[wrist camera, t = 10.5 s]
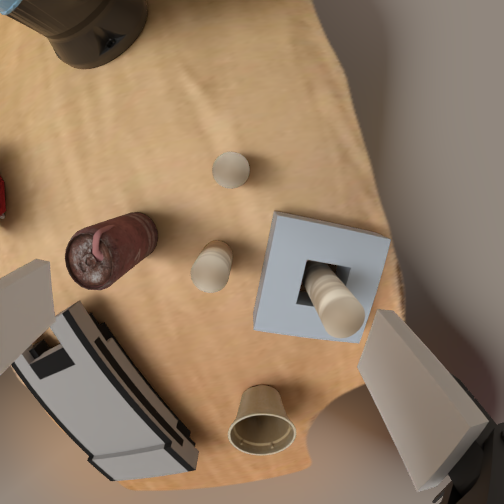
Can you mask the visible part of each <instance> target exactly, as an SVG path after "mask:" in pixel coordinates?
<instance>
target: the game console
mask: <svg viewBox="0 0 504 504" xmlns="http://www.w3.org/2000/svg"><path fill="white" fill-rule="evenodd" d="M55 319H56V322H55V323H53V324H52V325H51V326H50V328H51V329H52V331H53V333H54V334H55V336H56V337H57V339H58V340H59V342H60V343H61V344H59V345H57V346H55V347H53V348H51V349H50V348H49V346H48V345H47V343H46V342H45V340H44V339H43V340H42V341H40V342H38V343H36V344H35V345H33V346H32V344H31V345H30V346H29V347H28V348H27V349H26V350H25V351H24V352H23V353H22V354H21V355H20V356H19V357H18V358H17V359H16V360H15V361H14V362H13V363H12V364H11V365H12V367H13V368H14V370H15V371H16V373H17V374H18V375H19V377H20V378H21V379H22V381H23V382H24V384H25V385H26V386H27V388H28V389H29V390H30V391H31V393H32V394H33V395H34V397H35V398H36V399H37V400H38V401H39V403H40V404H41V405H42V406H43V408H44V409H45V410H46V411H47V412H48V414H49V415H50V416H51V417H52V418H53V419H54V420H55V422H56V423H57V424H58V425H59V426H60V427H61V428H62V429H63V430H64V431H65V432H66V434H67V435H68V436H69V437H70V438H71V439H72V440H73V441H74V442H75V443H76V444H77V445H78V446H79V447H80V448H81V449H82V450H83V451H84V452H85V453H86V454H87V455H88V456H89V458H88V460H87V461H88V462H89V463H91V464H92V465H93V466H94V467H95V468H96V469H97V470H98V471H100V472H101V473H102V474H103V475H104V476H106V477H107V478H108V479H109V480H110V481H120V480H131V479H141V478H150V477H157V476H164V475H171V474H177V473H183V472H188V471H194V470H196V465H197V459H198V453H199V451H198V450H197V449H196V448H195V443H194V442H193V441H192V440H191V439H190V438H189V436H190V431H189V430H188V429H187V427H186V426H185V425H184V424H183V423H182V422H181V421H180V420H179V419H178V418H177V416H176V415H175V414H174V413H173V412H172V411H171V410H170V408H169V407H168V406H167V405H166V404H165V403H164V401H163V400H162V399H161V398H160V397H159V395H158V394H157V393H156V392H155V391H154V389H153V388H152V387H151V386H150V384H149V383H148V382H147V381H146V379H145V378H144V377H143V375H142V374H141V373H140V372H139V370H138V369H137V368H136V366H135V365H134V364H133V362H132V361H131V360H130V358H129V357H128V356H127V354H126V353H125V351H124V350H123V349H122V347H121V346H120V344H119V343H118V342H117V340H116V339H115V337H114V336H113V334H112V333H111V331H110V330H109V328H108V327H107V325H106V324H105V322H104V323H102V324H100V325H99V323H98V322H97V320H96V319H95V317H94V316H93V314H92V312H91V313H89V314H88V313H87V311H86V310H85V308H84V306H83V305H82V303H81V301H78V302H77V303H75V304H73V305H72V306H70V307H68V308H67V309H65V310H64V311H62V312H60V313H59V314H57V315H56V316H55Z"/></svg>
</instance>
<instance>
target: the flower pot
mask: <svg viewBox="0 0 504 504" xmlns="http://www.w3.org/2000/svg"><path fill="white" fill-rule="evenodd" d="M295 437H296V428H295V426H294V424H293V423H292V422H291V421H290V419H289V418H288V417H287V414H286V412H285V409H284V406H283V403H282V400H281V396H280V394H279V393H278V391H277V390H276V389H274V388H273V387H270V386H266V385H258V386H256V387H250V388H249V389H247V390H246V391H245V392H244V393H243V395H242V398H241V402H240V406H239V410H238V413H237V417H236V419H235V420H234V422H233V423H232V425H231V426H230V428H229V431H228V438H229V441H230V443H231V444H232V445H233V446H234V447H235V448H236V449H238V450H240V451H242V452H244V453H247V454H252V455H270V454H275V453H278V452H280V451H283V450H284V449H286V448H287V447H289V446H290V445H291V444H292V443H293V441H294V440H295Z"/></svg>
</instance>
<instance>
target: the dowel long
mask: <svg viewBox="0 0 504 504" xmlns="http://www.w3.org/2000/svg"><path fill="white" fill-rule="evenodd" d="M302 283H303V285H304V287H305V289H306V291H307V293H308V295H309V297H310V299H311V301H312V303H313V305H314V307H315V309H316V311H317V313H318V315H319V318H320V320H321V322H322V324H323V326H324V328H325V330H326V331H327V333H328V334H329V335H331V336H333V337H335V338H347V337H350V336H352V335H354V334H355V333H356V332H357V331H358V330H359V329H360V328H361V327H362V325H363V323H364V320H365V311H364V308H363V306H362V305H361V304H360V302H359V301H358V300H357V299H356V298H355V296H354V295H353V294H352V293H351V292H350V291H349V289H348V288H347V287H346V286H345V285H344V284H343V282H342V281H341V280H340V279H339V278H338V277H337V275H336V274H335V273H334V272H333V271H332V270H331V269H330V267H329V266H328V265H327V264H326V263H323V262H318V261H312V260H309V261H307V262H306V265H305V269H304V274H303V278H302Z"/></svg>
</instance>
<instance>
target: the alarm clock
mask: <svg viewBox="0 0 504 504" xmlns="http://www.w3.org/2000/svg"><path fill="white" fill-rule="evenodd" d="M5 211H6V205H5V186H4V181H3V179H2V178H1V176H0V218H2V219H4V218H5V215H4V214H3V213H4V212H5Z"/></svg>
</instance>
